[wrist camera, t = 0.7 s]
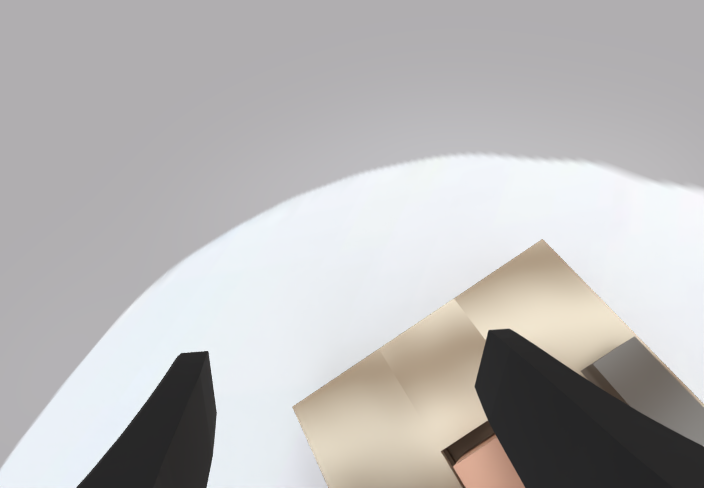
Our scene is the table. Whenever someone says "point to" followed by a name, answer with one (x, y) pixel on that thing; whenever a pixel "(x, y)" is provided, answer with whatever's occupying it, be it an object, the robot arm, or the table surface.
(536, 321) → the lid
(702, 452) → the robot arm
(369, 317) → the table surface
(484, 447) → the terracotta rectangular block
